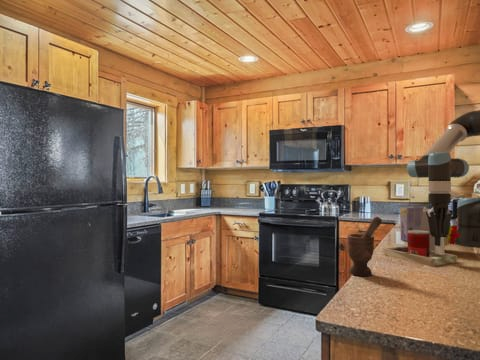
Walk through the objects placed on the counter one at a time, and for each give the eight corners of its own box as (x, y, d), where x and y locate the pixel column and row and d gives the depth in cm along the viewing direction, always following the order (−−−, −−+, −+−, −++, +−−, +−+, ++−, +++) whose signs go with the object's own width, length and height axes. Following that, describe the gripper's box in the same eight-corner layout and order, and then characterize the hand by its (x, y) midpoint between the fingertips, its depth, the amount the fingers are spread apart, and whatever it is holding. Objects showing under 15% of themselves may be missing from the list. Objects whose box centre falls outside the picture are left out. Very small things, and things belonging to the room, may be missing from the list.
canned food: (432, 260, 138) (432, 232, 138) (410, 259, 139) (410, 232, 139) (426, 256, 145) (426, 230, 145) (405, 255, 147) (405, 229, 147)
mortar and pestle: (386, 274, 118) (386, 215, 118) (380, 280, 111) (380, 217, 111) (351, 269, 125) (351, 213, 125) (344, 275, 117) (344, 215, 117)
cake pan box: (420, 237, 194) (420, 205, 194) (429, 238, 190) (429, 206, 190) (399, 240, 184) (399, 207, 184) (408, 242, 180) (408, 207, 180)
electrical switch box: (454, 261, 145) (463, 214, 144) (415, 252, 153) (423, 207, 151) (455, 255, 158) (462, 211, 156) (418, 247, 165) (425, 205, 164)
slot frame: (407, 251, 155) (407, 245, 155) (456, 261, 136) (456, 254, 136) (383, 254, 149) (383, 248, 149) (431, 266, 129) (431, 258, 129)
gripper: (441, 192, 140) (441, 250, 140) (419, 192, 135) (419, 253, 135) (459, 192, 133) (460, 254, 133) (437, 193, 128) (437, 257, 128)
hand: (439, 254), depth 134 cm, fingers closed
